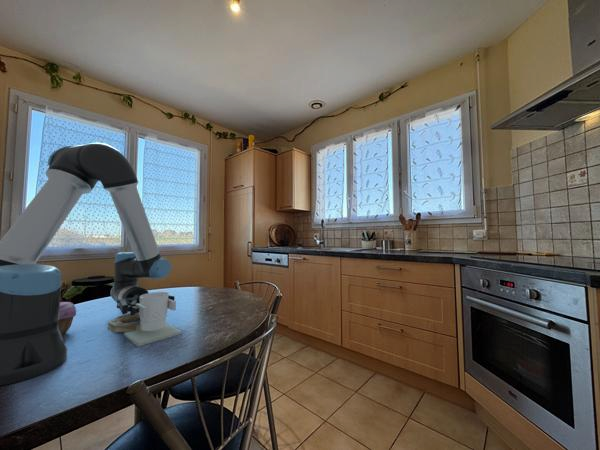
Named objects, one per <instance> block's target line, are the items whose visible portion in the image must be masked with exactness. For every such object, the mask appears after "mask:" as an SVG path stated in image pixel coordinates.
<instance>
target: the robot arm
mask: <svg viewBox="0 0 600 450" xmlns="http://www.w3.org/2000/svg"><path fill="white" fill-rule="evenodd" d="M47 165H48V168H47V170H45V175H46V177H47V181H46V182H45V183H44V185H42V187H41V188H40V190H38V192H37V193H36V194H35V196H34V197H33V198H32V199H31V201H30V202H29V204H28V205H27V206H26V208H25V209H24V210H23V211H22V213H20V215H19V216H18V218H17V219H16V220H15V221H14V223H13V224H12V225H11V227H10V228H9V229H8V231H7V232H6V233H5V234H4V235H3V237H2V238H1V239H0V386H5V385H11V384H13V383H14V384H15V383H18V382H21V381H25V380H28V379H32V378H35V377H37V376H39V375H40V376H41V375H42V374H45V373H47V372H49V371H52V370H53V369H55V368H58V367H59V366H61V365H62V364H64V363H65V362H66V360H67V358H68V348H67V345H66V343H65V340H64V338H63V336H62V335H63V334H62V335H61V333H60V330H59V310H60V302H61V288H62V283H63V281H62V276H61V275H62V274H61V270H60V269H59V268H58V267H57V266H53V265H48V264H37V262H38V260H39V259H40V258H41V256H42V255H43V253H44V252H45V250H46V249H47V248H48V246H49V244H50V243H51V242H52V240H53V238H54V236H56V233H57V232H58V231H59V230H60V228H61V227H62V225H63V223H64V222H65V221H66V219H67V218H68V216H69V215H70V213H71V211H72V210H73V209H74V207H75V205H76V204H77V203H78V202H79V200H80V198H81V197H82V196H83V195H86V194H90V193H91V192H92V191H93V189H94V188H95V186H96V185H97V183H98V182H99V181H100V183H101V185H102V187H103V189H104V190H106V191H108V193H109V194H110V196H111V200H112V202H113V205H114V207H115V210H116V212H117V214H118V217H119V219H120V222H121V224H122V227H123V230H124V232H125V234H126V235H125V236H127V239H128V242H129V245H130V247H131V250H132V251H128V252H127V251H123V252H117V253H116V254H115V258H114V263H113V265H114V271H113V273H114V275H113V276H114V278H113V285H112V288H111V289H110V296H111V298H112V299H113V301H114V302H116V309H119V310H120V312H121V313H122V314H123V315H127V314H128V312H130V313H129V314H130V315H135V313H137V314H139V315H140V316H142V317H146V309H147V307H145V306H143V305H141V304H140V299H139V296H141V295H143V294H147V293H150V292H149V290H147V289H145V288H144V287H141V286H138V280H139V279H151V280H160V279H164V278H166V277H167V276H169V274H171V273H170V272H171V270H172V264H171V262H170V260H168V259H167V258H165V257H162V256H161V254H160V249H159V248H158V245H157V241H156V239H155V236H154V233H153V231H152V227H151V224H150V221H149V219H148V217H147V213H146V211H145V207H144V204H143V202H142V199H141V196H140V194H139V191H138V188H137V186H138V184H139V180H138V178H137V177H138V176H137V174H136V172H135V171H134V168H133V167H132V164H131V163H130V162H129V160H128V159H127V158H126V156H125V155H123V153H122V152H121V151H120V150H118V149H117V148H115V147H113V146H112V145H109V144H107V143H103V142H92V143H86V144H77V145H68V146H63V147H61V148H58V149H56V150H54V151H53V152H52V153H51V154H50V156H49V157H48V161H47ZM176 309H177V301H175V295H170V294H169V296H168V309H167V310H171V311H174V312H175V311H176Z"/></svg>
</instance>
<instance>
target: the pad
mask: <svg viewBox="0 0 600 450" xmlns="http://www.w3.org/2000/svg"><path fill="white" fill-rule="evenodd" d="M179 335H182V330H181V329H178V328H176V327H174V326H172V325H170V324H169V323H167V322H166V325H165V327H163V328H161V329H158V330H154V331H142V330H141V329H139V330H135V331H131V332H123V337H125V338H127V340H129V341H130V342H131V343H133V344H134V345H135V346H136V347H138V348H139V347H142V346H145V345H149V344H151V343H155V342H158V341H162V340H166V339H169V338H172V337H175V336H179Z"/></svg>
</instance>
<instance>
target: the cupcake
mask: <svg viewBox="0 0 600 450" xmlns="http://www.w3.org/2000/svg"><path fill="white" fill-rule="evenodd" d="M76 315H77V309H76V305H74V303H73V302H70V301H62V302H61V301H60V310H59V330H60V333H61V335H65V334H66V333H67V332H68V331H69V330H70V328H71V326H72V324H73V320H74V317H75V316H76Z"/></svg>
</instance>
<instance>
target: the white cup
mask: <svg viewBox="0 0 600 450" xmlns="http://www.w3.org/2000/svg"><path fill="white" fill-rule="evenodd" d="M169 295H170V294H169V293H168V292H165V291H156V292H149V293H147V294H143V295H141V296H139V299H140V304H141V305H143V306H145V307H147V309H146V317H142V316H140V320H139V322H140V321H141V322H140V328H141V330H142V331H154V330H158V329H161V328H163V327H165V325H166V323H167V317H168V310H169V309H168V296H169Z"/></svg>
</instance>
